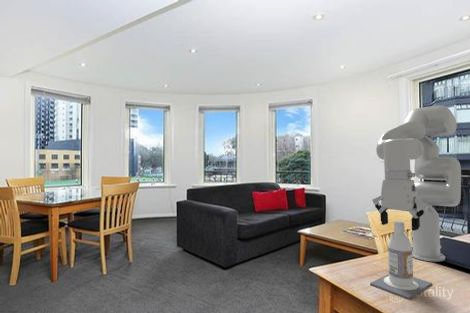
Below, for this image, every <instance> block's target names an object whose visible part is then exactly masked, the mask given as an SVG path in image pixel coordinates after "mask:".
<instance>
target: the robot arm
mask: <svg viewBox="0 0 470 313" xmlns="http://www.w3.org/2000/svg"><path fill="white" fill-rule="evenodd" d="M457 127H458V122H457V119H456V117H455V114H453V112H452V111H451V109H450V108H449V107H448V106H445V105H440V104H439V105H432V106H426V107H425V106H424V107H423V106H422V107H417V108H415V109H412V110H411V111H409V112H408V114H407V116H406V117H405V119H404V121H403V123H402V124H400V125H397V126H396V127H393V128H391V129H388V130H387V131H385V132H384V133H383V134H382V135H381V137H380V138H379V140H378V142H377V145H376V148H375V149H376V150H375V151H376V155H377V157H378V158H379V159H381V160H382V161H383V163H384V164H383V166H384V167H383V168H384V169H383V170H384V178H383V180H382V182H381V190H380V191H381V192H380V196H376V197H375V198H373V199H372V202H373V204H374V206H375V208H376V209H377V211H378V213H379V214H380V224H381V225H382V226H384V225H388V224H389V213H388V210H395V211H401V212H409V214H410V215H411V230H412V258H414V259H416V260H421V261H425V262H434V263H437V262H439V263H440V262H443V261H446V255H444V254H443V253H441V248H442V245H441V238H440V237H441V236H440V234H441V232H440V231H441V230H440V216H439V213H438V212H437V211H436V209H435V208H434V207H433V206H441V207H456V206H458V205H460V202H461V199H462V198H461V196H462V193H461V192H462V168H461V163H460V161H459V160H458V159H457V158H455V157H449V156H447V157H446V156H445V157H444V156H441V157H440V147H439V145H438V144H437V143H436V142H435V140H432V139H431V138H429V137H436V136H450V135H453V134H454V133H455V132H457V131H456V130H457ZM411 160H414V166H413V167H414V172H412V170H411V169H412V168H411ZM415 177H416V178H418V179H421V180H423V181H415V180H414V179H412V178H415ZM424 180H427V181H424ZM429 180H433V181H429ZM439 181H440V182H439ZM443 181H445V182H443Z"/></svg>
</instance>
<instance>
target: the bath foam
mask: <svg viewBox="0 0 470 313" xmlns="http://www.w3.org/2000/svg"><path fill="white" fill-rule="evenodd" d="M393 227H394V228H393V231H394V232H393V234H392V235H391V236H390V237H389V240H388V243H387V254H388V255H387V257H388V258H387V259H388V260H387V261H388V262H387V263H388V274H389V280H390V281H391V282H392V283H393V284H396V285H399V286H411V285H413V277H414V267H413V266H414V265H413V264H414V263H413V257H412V249H413V245H412V243H411V241H410V239H409V238H408V236H407V235H406V233H405V222H403V221H398V220H397V221H394V222H393Z"/></svg>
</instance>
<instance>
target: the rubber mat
mask: <svg viewBox="0 0 470 313" xmlns="http://www.w3.org/2000/svg"><path fill="white" fill-rule="evenodd" d="M369 285H370V286H373V287H375V288H378V289H381V290H383V291H386V292H389V293H390V294H392V295H393V294H394V295H396V296H399V297H402V298H404V299H407V300H410V299H412V298H413V297H415V296H417V295H418V294H420V293H421V292H423V291H424V290H426V289H427V288H429V287H431V286H432V285H433V284H432V282H430V281H427V280H423V279H421V278H418V277H414V276H413V285H411V286H399V285H396V284H393V283H392V282H391V281H390V280H389V273H387V274H386V275H383V276H382V277H380V278H378V279H375V280H374V281H371V282H369Z"/></svg>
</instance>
